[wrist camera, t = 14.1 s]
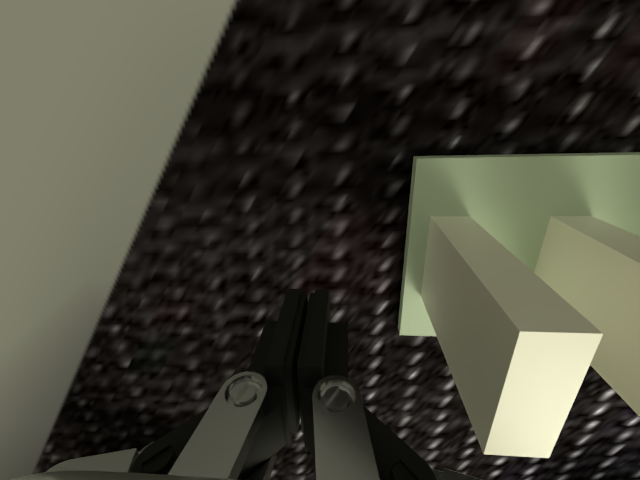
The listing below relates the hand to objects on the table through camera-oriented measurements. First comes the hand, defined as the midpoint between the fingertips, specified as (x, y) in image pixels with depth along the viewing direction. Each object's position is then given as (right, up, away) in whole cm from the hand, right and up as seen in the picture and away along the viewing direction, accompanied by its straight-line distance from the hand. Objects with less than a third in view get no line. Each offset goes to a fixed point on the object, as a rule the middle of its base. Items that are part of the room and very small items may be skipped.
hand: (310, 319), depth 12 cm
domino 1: (+7, +2, +5) cm, 9 cm away
